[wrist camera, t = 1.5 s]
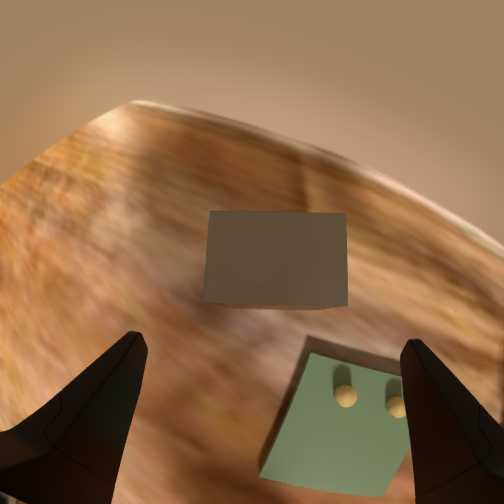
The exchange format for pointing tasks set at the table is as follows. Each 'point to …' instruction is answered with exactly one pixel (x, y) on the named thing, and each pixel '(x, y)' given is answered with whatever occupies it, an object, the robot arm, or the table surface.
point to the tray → (340, 430)
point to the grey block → (276, 260)
